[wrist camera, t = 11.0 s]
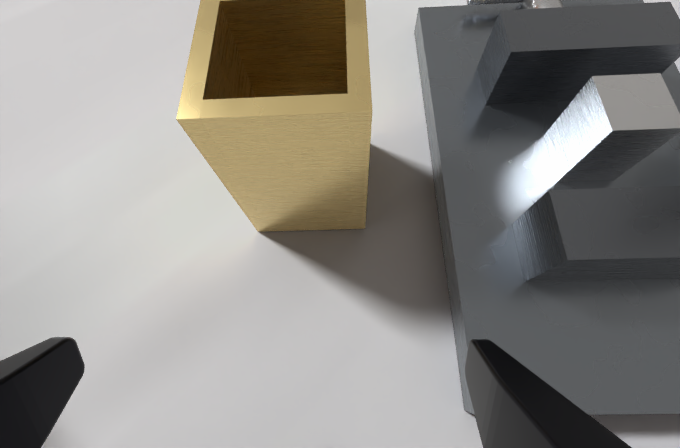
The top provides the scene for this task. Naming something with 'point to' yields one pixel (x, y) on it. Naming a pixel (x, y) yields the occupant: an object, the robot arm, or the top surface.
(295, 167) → the gold open box
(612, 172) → the grey base plate
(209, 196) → the top surface
